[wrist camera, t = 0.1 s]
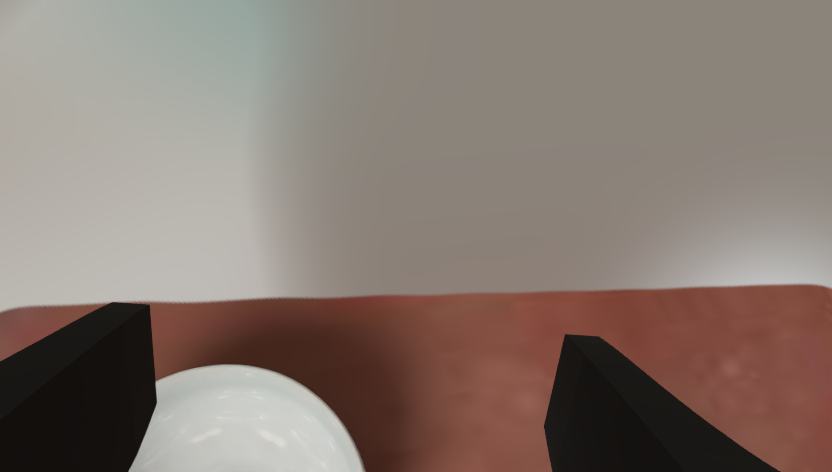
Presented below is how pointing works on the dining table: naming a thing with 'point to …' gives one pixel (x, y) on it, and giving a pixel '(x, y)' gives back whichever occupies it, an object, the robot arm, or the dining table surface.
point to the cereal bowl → (243, 425)
